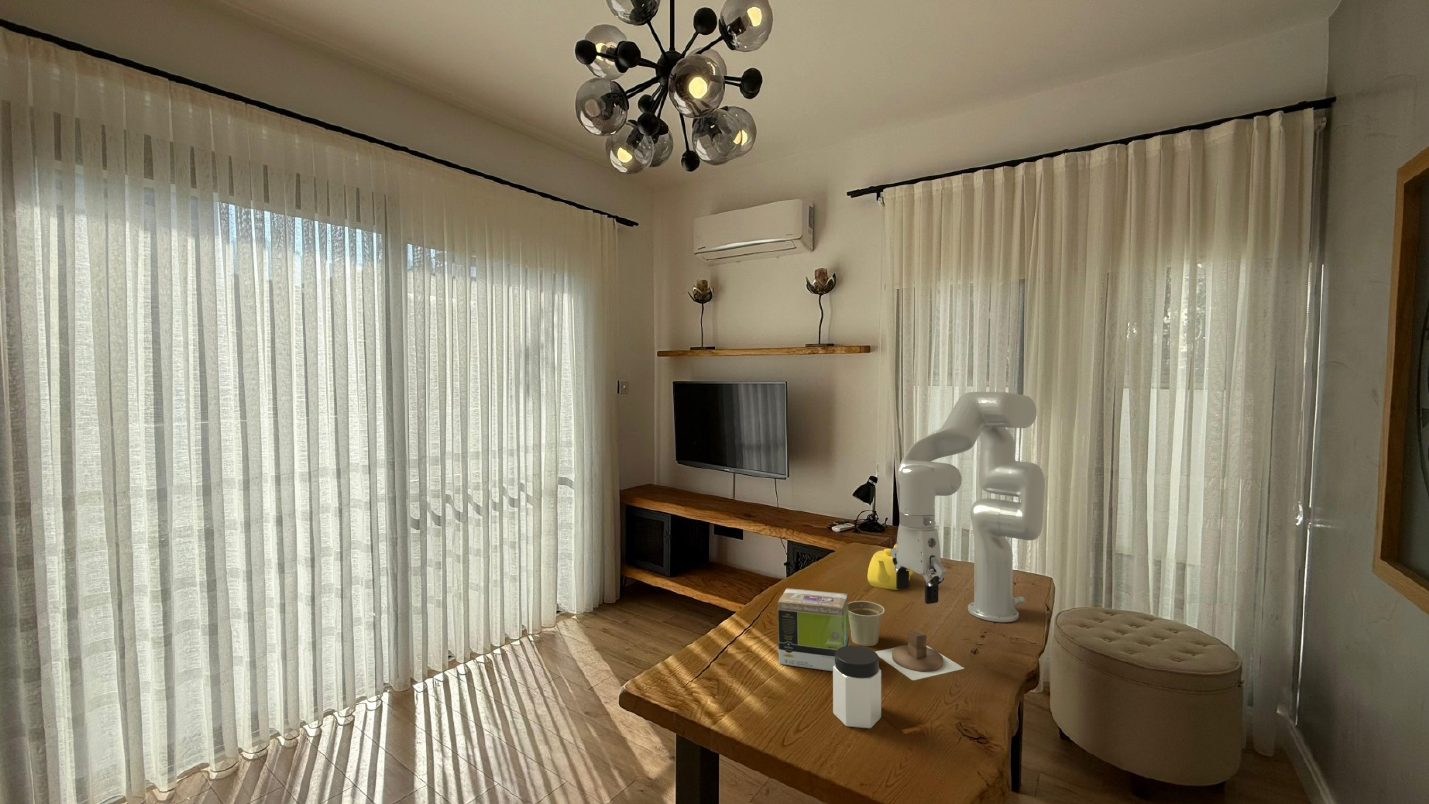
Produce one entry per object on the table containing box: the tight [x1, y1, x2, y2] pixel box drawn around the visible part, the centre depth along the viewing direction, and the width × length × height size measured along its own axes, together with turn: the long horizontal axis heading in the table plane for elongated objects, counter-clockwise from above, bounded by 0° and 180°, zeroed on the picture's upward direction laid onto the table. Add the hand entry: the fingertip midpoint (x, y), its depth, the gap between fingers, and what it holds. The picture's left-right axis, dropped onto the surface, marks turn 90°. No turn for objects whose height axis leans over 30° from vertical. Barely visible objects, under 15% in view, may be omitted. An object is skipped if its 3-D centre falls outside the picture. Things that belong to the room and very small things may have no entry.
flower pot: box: [848, 600, 886, 647], centre depth 142 cm, size 9×9×9 cm
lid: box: [892, 629, 943, 672], centre depth 132 cm, size 11×11×6 cm
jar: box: [832, 644, 882, 729], centre depth 111 cm, size 9×8×12 cm
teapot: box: [867, 543, 915, 591], centre depth 184 cm, size 22×16×11 cm
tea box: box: [777, 587, 850, 672], centre depth 134 cm, size 15×10×15 cm, turn 71°
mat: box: [875, 644, 965, 681], centre depth 132 cm, size 14×14×1 cm
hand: (916, 595), depth 132 cm, fingers open, 9 cm apart
